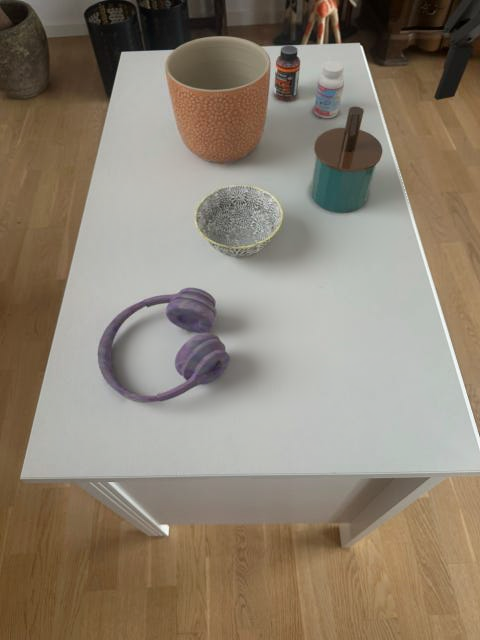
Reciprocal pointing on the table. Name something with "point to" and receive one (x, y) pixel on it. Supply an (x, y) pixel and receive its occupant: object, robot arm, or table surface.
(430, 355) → the table surface
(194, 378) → the headphones
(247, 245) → the bowl
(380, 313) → the table surface
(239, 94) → the planter
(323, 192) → the storage jar
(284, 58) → the supplement bottle
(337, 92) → the pill bottle
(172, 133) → the table surface
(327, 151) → the jar lid
